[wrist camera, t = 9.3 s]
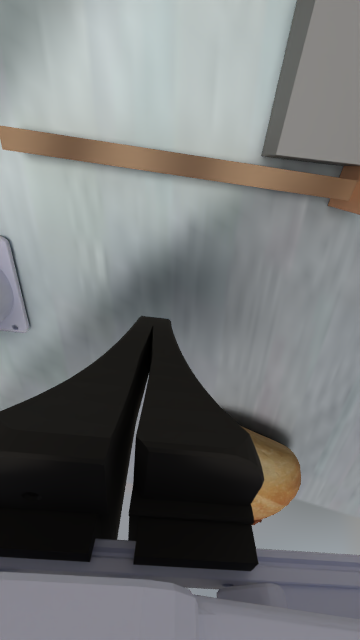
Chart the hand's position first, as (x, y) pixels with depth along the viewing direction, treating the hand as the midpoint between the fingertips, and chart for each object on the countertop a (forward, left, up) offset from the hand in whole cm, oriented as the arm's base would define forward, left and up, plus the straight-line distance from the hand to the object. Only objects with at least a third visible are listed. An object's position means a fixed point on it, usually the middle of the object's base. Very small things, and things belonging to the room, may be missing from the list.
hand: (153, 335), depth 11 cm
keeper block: (+7, +11, -9) cm, 16 cm away
